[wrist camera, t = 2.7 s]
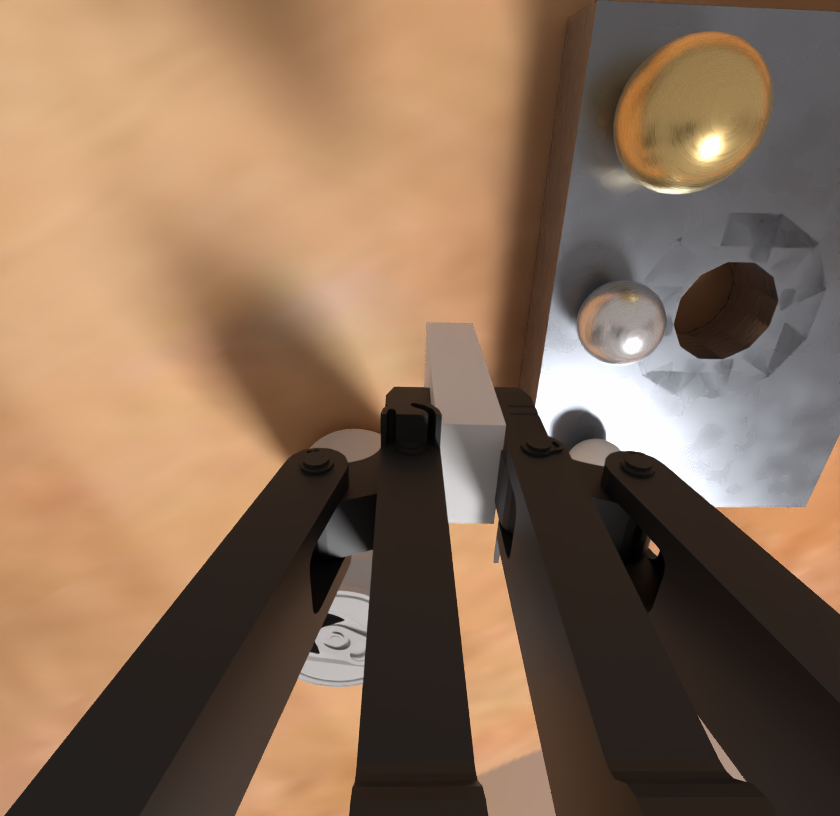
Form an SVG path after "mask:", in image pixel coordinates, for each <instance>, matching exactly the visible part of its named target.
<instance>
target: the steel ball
mask: <svg viewBox="0 0 840 816" xmlns="http://www.w3.org/2000/svg"><path fill="white" fill-rule="evenodd" d="M666 323H667V317H666V312H665V308H664V305H663V303H662V301H661V300H660V298H659V297H658V295H657V294H656V293H655V292H654V291H653V290H651V289H650V288H649V287H647V286H645V285H643V284H641V283H638V282H634V281H628V280H619V281H614V282H610V283H607V284H604V285H602V286H600V287H599V288H597V289H596V290H594V291H593V292H592V293H591V294H590V295H589V296H588V297H587V298H586V299H585V301H584V302H583V304H582V306H581V307H580V310H579V312H578V316H577V324H576V327H577V334H578V338H579V341H580V343H581V345H582V346H583V348H584V349H585V351H586V352H587V353H588V354H589V355H590V356H592V357H593V358H594V359H596V360H598V361H600V362H602V363H605V364H609V365H615V366H623V365H630V364H633V363H636V362H639V361H641V360H643V359H644V358H646V357H647V356H649V355H650V354H651V353H652V352H653V351H654V350H655V349H656V348H657V347H658V345H659V344H660V342H661V341H662V339H663V337H664V334H665V330H666Z"/></svg>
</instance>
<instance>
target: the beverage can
mask: <svg viewBox="0 0 840 816" xmlns="http://www.w3.org/2000/svg"><path fill="white" fill-rule="evenodd" d="M310 448H311V449H312V448H329V449H333V450H336V451H339V452H340V453H342V454H343V455H345V457H346V459H347V461H348V462H353V461H358V460H362V459H365V458H367V457H370V456H372V455H373V454H375V453H376V452H378V450H379V449H380V448H381V434H379V433H376V432H373V431H369V430H364V429H344V430H339V431H335V432H332V433H330V434H328V435H326V436H324V437H322V438H321V439H319V440H318V441H316V442H315V443H314V444H313V445H312V446H311V447H310ZM310 448H309V449H310ZM372 556H373V550H370V551H366V552H362V553H358V554H354V555H352V558H351V563H350V566H349V568H348V570H347V572H346V575H345V577H344V579H343V581H342V583H341V585H340V588H339V590H338V592H337V594H336V596H335V599H334V601H333V603H332V605H331V607H330V609H329V612H328V614H327V616H326V618H325V620H324V622H323V625H322V627H321V629H320V631H319V633H318V636H317V638H316V640H315V642H314V644H313V646H312V649H311V651H310V653H309V655H308V657H307V659H306V662H305V664H304V666H303V668H302V670H301V673H300V675H299V677H298V679H300V680H302V681H305V682H308V683H312V684H316V685H322V686H329V687H347V686H355V685H361V684H363V676H364V662H365V649H366V636H367V622H368V609H369V596H370V582H371V569H372Z"/></svg>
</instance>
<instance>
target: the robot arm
mask: <svg viewBox="0 0 840 816" xmlns="http://www.w3.org/2000/svg"><path fill="white" fill-rule="evenodd" d="M495 509H497V513H498V517H499V522H498V530H497V537H496V545H495V553H494V563H498V561H499V556H500V555H501V560H502V565H503V569H504V574H505V579H506V583H507V588H508V593H509V597H510V602H511V607H512V612H513V616H514V621H515V626H516V630H517V635H518V640H519V644H520V649H521V654H522V658H523V663H524V668H525V672H526V677H527V682H528V686H529V691H530V696H531V700H532V705H533V710H534V715H535V719H536V724H537V729H538V733H539V738H540V743H541V747H542V752H543V757H544V761H545V766H546V770H547V775H548V780H549V785H550V789H551V794H552V799H553V803H554V808H555V813H556V816H840V614H839V613H838V612H836V611H835V610H834V609H833V608H832V607H831V606H829V605H828V604H827V603H826V602H825V601H824V600H822V599H821V598H820V597H819V596H818V595H817V594H815V593H814V592H813V591H812V590H811V589H810V588H808V587H807V586H806V585H805V584H804V583H803V582H801V581H800V580H799V579H798V578H797V577H796V576H794V575H793V574H792V573H791V572H790V571H789V570H787V569H786V568H785V567H784V566H783V565H782V564H780V563H779V562H778V561H777V560H776V559H774V558H773V557H772V556H771V555H770V554H769V553H767V552H766V551H765V550H764V549H763V548H762V547H760V546H759V545H758V544H757V543H756V542H755V541H753V540H752V539H751V538H750V537H749V536H748V535H746V534H745V533H744V532H743V531H742V530H741V529H739V528H738V527H737V526H736V525H735V524H734V523H732V522H731V521H730V520H729V519H728V518H727V517H725V516H724V515H723V514H722V513H721V512H720V511H718V510H717V509H716V508H715V507H714V506H713V505H711V504H710V503H709V502H708V501H707V500H706V499H704V498H703V497H702V496H701V495H700V494H699V493H697V492H696V491H695V490H694V489H693V488H692V487H690V486H689V485H688V484H687V483H686V482H685V481H683V480H682V479H681V478H680V477H679V476H678V475H676V474H675V473H674V472H673V471H672V470H671V469H669V468H668V467H667V466H666V465H665V464H663V463H662V462H660V461H659V460H657V459H656V458H654V457H652V456H649V455H646V454H645V453H642V452H638V451H637V452H636V451H617V452H613V453H610V454H609V455H608V456H607V457H606V459H605V463H604V466H600V465H595V464H590V463H585V462H581V461H577V460H574V459H572V458H571V456H570V454H569V452H568V449H567V448H566V447H565V446H564V444H563V443H562V442H560V441H558V440H556V439H555V438H553V437H550V436H548V434H547V431H546V429H545V427H544V425H543V423H542V420H541V418H540V416H538V412H537V409H536V408H535V405H534V403H533V401H532V398H531V396H529V395H528V394H527V393H526V392H524V391H523V390H522V389H520V388H498V387H493V384H492V381H491V378H490V375H489V372H488V369H487V366H486V363H485V360H484V357H483V354H482V351H481V348H480V345H479V341H478V338H477V335H476V332H475V329H474V326H473V323H429V322H426V348H425V373H424V387H394V388H393V389H392V390H391V391H390V392H389V393H388V394H387V395H386V404H385V408H383V410H382V412H381V448H380V449H379V450H378V452H376V453H375V454H373V455H372V456H370V457H367V458H365V459H362V460H358V461H353V462H348V461H347V459H346V457H345V455H343V454H342V453H340V452H339V451H336V450H333V449H329V448H312V449H311V448H310V449H306V450H303V451H300V452H298V453H295V454H294V455H292V456H291V457H290V458H289V459H288V460H287V461H286V462H285V463H284V464H283V466H282V467H281V468H280V469H279V471H278V472H277V473H276V474H275V476H274V477H273V478H272V480H271V481H270V482H269V483H268V485H267V486H266V487H265V488H264V490H263V491H262V492H261V493H260V495H259V496H258V497H257V498H256V500H255V501H254V502H253V503H252V505H251V506H250V507H249V508H248V510H247V511H246V512H245V514H244V515H243V516H242V517H241V519H240V520H239V521H238V522H237V524H236V525H235V526H234V527H233V529H232V530H231V531H230V532H229V534H228V535H227V536H226V537H225V539H224V540H223V541H222V542H221V544H220V545H219V546H218V547H217V549H216V550H215V551H214V553H213V554H212V555H211V556H210V558H209V559H208V560H207V561H206V563H205V564H204V565H203V566H202V568H201V569H200V570H199V571H198V573H197V574H196V575H195V576H194V578H193V579H192V580H191V581H190V583H189V584H188V585H187V586H186V588H185V589H184V590H183V592H182V593H181V594H180V595H179V597H178V598H177V599H176V600H175V602H174V603H173V604H172V605H171V607H170V608H169V609H168V610H167V612H166V613H165V614H164V615H163V617H162V618H161V619H160V620H159V622H158V623H157V624H156V625H155V627H154V628H153V629H152V631H151V632H150V633H149V634H148V636H147V637H146V638H145V639H144V641H143V642H142V643H141V644H140V646H139V647H138V648H137V649H136V651H135V652H134V653H133V654H132V656H131V657H130V658H129V659H128V661H127V662H126V663H125V664H124V666H123V667H122V668H121V670H120V671H119V672H118V673H117V675H116V676H115V677H114V678H113V680H112V681H111V682H110V683H109V685H108V686H107V687H106V688H105V690H104V691H103V692H102V693H101V695H100V696H99V697H98V698H97V700H96V701H95V702H94V704H93V705H92V706H91V707H90V709H89V710H88V711H87V712H86V714H85V715H84V716H83V717H82V719H81V720H80V721H79V722H78V724H77V725H76V726H75V727H74V729H73V730H72V731H71V732H70V734H69V735H68V736H67V737H66V739H65V740H64V741H63V743H62V744H61V745H60V746H59V748H58V749H57V750H56V751H55V753H54V754H53V755H52V756H51V758H50V759H49V760H48V761H47V763H46V764H45V765H44V766H43V768H42V769H41V770H40V771H39V773H38V774H37V775H36V776H35V778H34V779H33V780H32V782H31V783H30V784H29V785H28V787H27V788H26V789H25V790H24V792H23V793H22V794H21V795H20V797H19V798H18V799H17V800H16V802H15V803H14V804H13V805H12V807H11V808H10V809H9V810H8V812H7V813H6V814H5V815H4V816H235V814H236V812H237V810H238V808H239V805H240V803H241V801H242V799H243V797H244V794H245V792H246V790H247V788H248V786H249V784H250V781H251V779H252V777H253V775H254V773H255V771H256V768H257V766H258V764H259V762H260V760H261V757H262V755H263V753H264V751H265V749H266V747H267V744H268V742H269V740H270V738H271V736H272V733H273V731H274V729H275V727H276V725H277V723H278V720H279V718H280V716H281V714H282V712H283V710H284V707H285V705H286V703H287V701H288V699H289V696H290V694H291V692H292V690H293V688H294V686H295V683H296V681H297V679H298V677H299V675H300V673H301V670H302V668H303V666H304V664H305V662H306V659H307V657H308V655H309V653H310V651H311V649H312V646H313V644H314V642H315V640H316V638H317V636H318V633H319V631H320V629H321V627H322V625H323V622H324V620H325V618H326V616H327V614H328V612H329V609H330V607H331V605H332V603H333V601H334V599H335V596H336V594H337V592H338V590H339V588H340V585H341V583H342V581H343V579H344V577H345V575H346V572H347V570H348V568H349V566H350V563H351V558H352V555H354V554H358V553H362V552H366V551H370V550H373V556H372V569H371V582H370V596H369V609H368V622H367V636H366V649H365V662H364V676H363V689H362V702H361V716H360V729H359V742H358V756H357V768H356V777H355V783H354V785H353V788H352V795H351V802H350V813H349V816H488V812H487V805H486V798H485V795H484V791H483V787H482V785H481V784H480V783H479V781H478V780H477V776H476V770H475V763H474V754H473V745H472V736H471V727H470V718H469V708H468V699H467V690H466V681H465V672H464V663H463V653H462V644H461V635H460V626H459V617H458V607H457V598H456V589H455V580H454V571H453V561H452V552H451V543H450V534H449V525H448V523H489V524H494V517H495ZM650 540H652V541H653V542H654V543H655V544H656V545H657V547H658V548H659V550H660V552H659V555H658V556H656V555H655V554H654V553H653V552H652V551H651V550H650V549H649V548H648V546H649V543H650ZM698 716H699V718H700V719H701V720H702V721H703V723H704V724H705V726H706V727H707V728H708V730H709V731H710V733H711V734H712V735H713V737H714V738H715V739H716V741H717V742H718V743H719V745H720V746H721V747H722V749H723V750H724V752H725V753H726V754H727V756H728V757H729V758H730V760H731V761H732V762H733V764H734V765H735V767H736V768H737V769H738V771H739V772H740V773H741V775H742V776H743V778H744V779H745V780H746V782H744V781H740V780H737V779H734V778H733V777H732V776H730V775H729V773H727V772H726V770H725V769H724V767H723V765H722V764H721V762H720V760H719V759H718V757H717V754H716V752H715V750H714V748H713V746H712V744H711V742H710V740H709V738H708V736H707V734H706V732H705V730H704V728H703V726H702V724H701V722H700V720H699V718H698Z"/></svg>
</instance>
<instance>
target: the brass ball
mask: <svg viewBox="0 0 840 816" xmlns="http://www.w3.org/2000/svg"><path fill="white" fill-rule="evenodd" d="M773 99H774V90H773V81H772V77H771V73H770V71H769V68H768V66H767V64H766V62H765V60H764V59H763V57H762V55H761V54H760V53H759V52H758V51H757V49H756V48H755V47H753V46H752V45H751V44H750V43H748V42H747V41H745V40H743V39H742V38H740V37H738V36H735V35H732V34H729V33H724V32H717V31H704V32H698V33H692V34H688V35H685V36H682V37H679V38H677V39H675V40H673V41H671V42H669V43H667V44H665V45H664V46H662V47H661V48H659V49H658V50H656V51H655V52H654V53H653V54H651V55H650V56H649V57H648V58H647V59H646V60H645V61H644V62H643V63H642V64H641V65H640V66H639V67H638V68H637V69H636V71H635V72H634V73H633V75H632V76H631V77H630V79H629V81H628V82H627V84H626V86H625V87H624V90H623V92H622V94H621V96H620V98H619V101H618V104H617V107H616V111H615V116H614V123H613V138H614V145H615V149H616V153H617V156H618V158H619V161H620V163H621V164H622V166H623V168H624V169H625V171H626V172H627V173H628V174H629V175H630V176H631V177H632V178H633V179H634V180H635V181H636V182H637V183H639V184H640V185H642V186H643V187H646V188H648V189H650V190H653V191H655V192H659V193H664V194H674V195H675V194H687V193H693V192H697V191H700V190H704V189H706V188H709V187H711V186H713V185H715V184H717V183H719V182H721V181H722V180H724V179H726V178H727V177H729V176H730V175H731V174H733V173H734V172H735V171H736V170H737V169H738V168H739V167H740V166H742V165H743V164H744V163H745V162H746V160H747V159H748V158H749V157H750V156H751V155H752V153H753V152H754V151H755V149H756V148H757V146H758V145H759V143H760V141H761V140H762V138H763V136H764V134H765V131H766V129H767V126H768V124H769V121H770V117H771V113H772V108H773Z"/></svg>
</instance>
